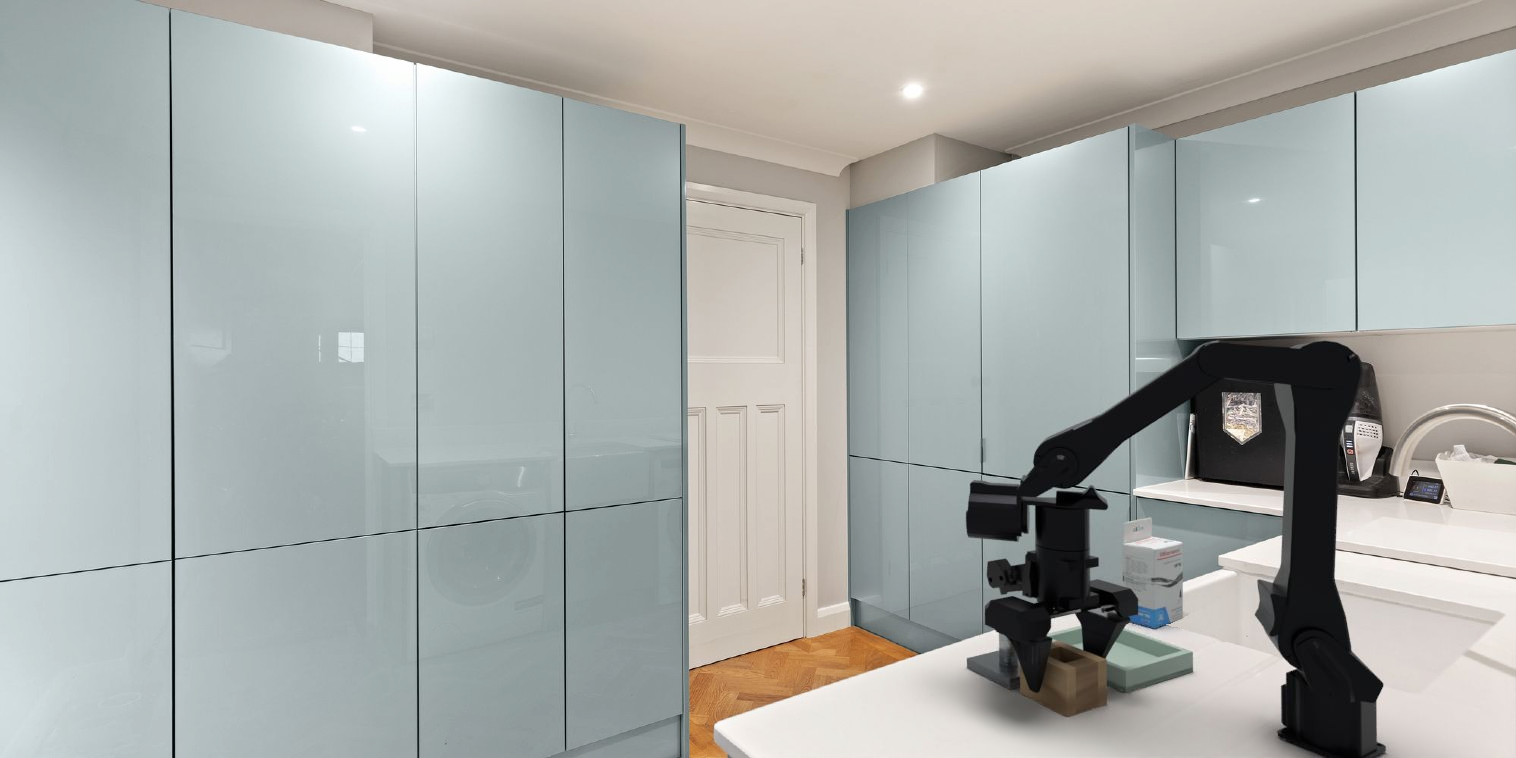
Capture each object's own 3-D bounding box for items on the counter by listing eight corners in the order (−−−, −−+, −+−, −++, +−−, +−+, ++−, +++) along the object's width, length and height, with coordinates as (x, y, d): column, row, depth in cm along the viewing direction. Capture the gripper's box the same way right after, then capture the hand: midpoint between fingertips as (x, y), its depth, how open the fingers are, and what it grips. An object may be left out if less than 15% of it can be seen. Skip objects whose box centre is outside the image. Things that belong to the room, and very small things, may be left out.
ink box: (1155, 630, 100) (1154, 528, 100) (1121, 620, 105) (1120, 522, 105) (1185, 618, 105) (1184, 521, 105) (1151, 609, 109) (1150, 516, 109)
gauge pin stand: (1051, 677, 85) (1051, 620, 85) (1009, 689, 81) (1009, 630, 81) (1007, 657, 91) (1007, 604, 91) (966, 667, 88) (966, 612, 88)
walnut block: (1106, 704, 77) (1106, 659, 78) (1067, 717, 75) (1066, 670, 75) (1059, 682, 83) (1058, 640, 83) (1020, 693, 80) (1019, 650, 80)
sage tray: (1193, 671, 86) (1192, 651, 86) (1126, 692, 80) (1125, 671, 80) (1102, 638, 97) (1102, 620, 97) (1037, 654, 92) (1037, 635, 92)
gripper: (1060, 524, 90) (1061, 644, 90) (949, 540, 82) (950, 672, 82) (1140, 542, 80) (1141, 677, 80) (1024, 561, 72) (1025, 712, 72)
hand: (1063, 683), depth 79 cm, fingers open, 9 cm apart
